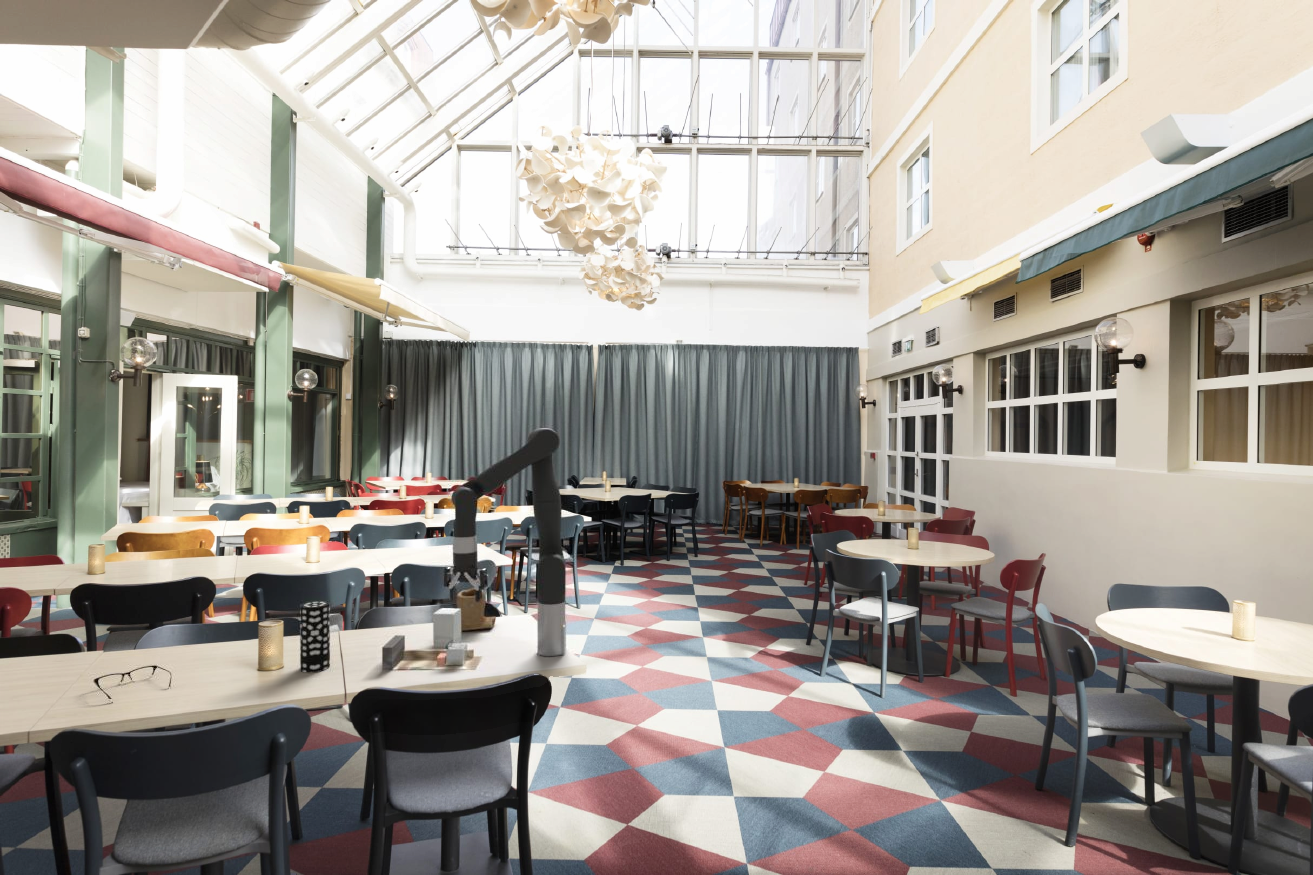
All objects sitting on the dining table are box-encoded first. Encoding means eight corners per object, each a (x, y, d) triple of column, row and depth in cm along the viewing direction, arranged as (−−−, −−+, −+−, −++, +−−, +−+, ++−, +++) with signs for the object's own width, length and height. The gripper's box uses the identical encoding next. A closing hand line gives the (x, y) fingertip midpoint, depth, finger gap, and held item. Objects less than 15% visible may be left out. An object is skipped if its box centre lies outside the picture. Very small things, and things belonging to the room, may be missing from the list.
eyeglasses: (159, 675, 211) (159, 662, 210) (176, 688, 201) (176, 675, 200) (90, 692, 198) (90, 678, 198) (105, 706, 188) (105, 691, 188)
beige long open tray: (483, 660, 224) (483, 634, 224) (475, 674, 212) (475, 646, 212) (395, 661, 223) (395, 635, 223) (382, 675, 211) (382, 647, 211)
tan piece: (453, 635, 251) (453, 594, 251) (454, 625, 263) (454, 586, 262) (496, 632, 255) (497, 591, 255) (495, 623, 267) (495, 584, 266)
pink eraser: (447, 660, 220) (447, 653, 220) (444, 665, 216) (444, 657, 216) (440, 660, 220) (440, 653, 220) (436, 665, 216) (436, 657, 216)
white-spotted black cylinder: (294, 670, 215) (293, 606, 214) (315, 661, 222) (315, 599, 222) (314, 674, 212) (314, 608, 211) (336, 665, 220) (335, 602, 219)
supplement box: (461, 644, 241) (462, 608, 241) (453, 651, 234) (453, 613, 233) (441, 643, 242) (441, 607, 241) (432, 650, 234) (432, 613, 234)
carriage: (467, 658, 221) (467, 639, 221) (462, 665, 215) (462, 645, 215) (450, 658, 221) (450, 639, 221) (445, 665, 215) (445, 645, 215)
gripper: (491, 548, 223) (491, 598, 223) (451, 547, 226) (452, 596, 227) (479, 553, 215) (480, 605, 216) (438, 551, 219) (439, 602, 219)
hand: (466, 600), depth 221 cm, fingers open, 8 cm apart
